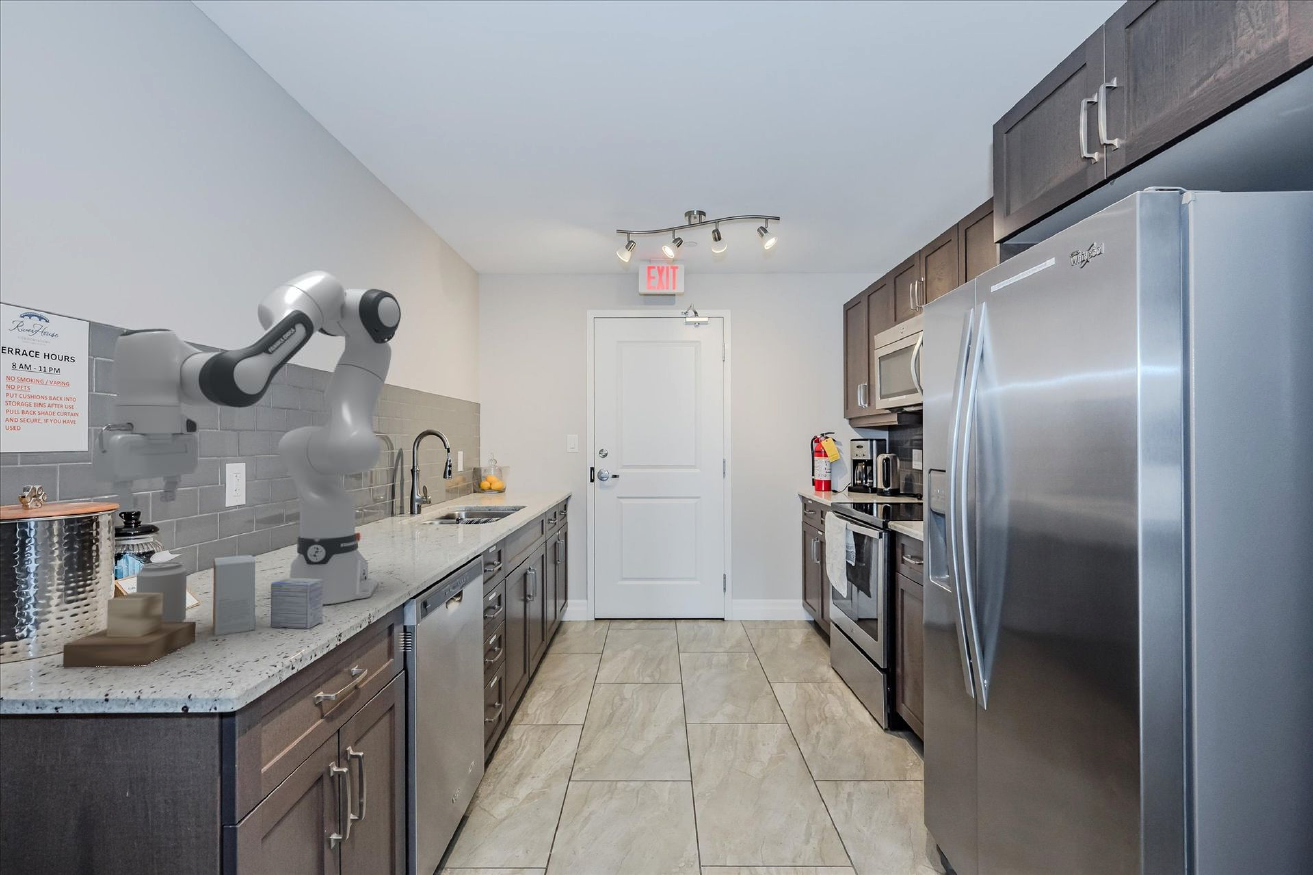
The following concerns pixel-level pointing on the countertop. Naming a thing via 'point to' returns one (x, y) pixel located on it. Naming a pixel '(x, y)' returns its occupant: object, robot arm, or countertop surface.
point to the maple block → (134, 614)
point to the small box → (234, 594)
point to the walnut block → (128, 647)
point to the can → (166, 587)
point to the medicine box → (296, 602)
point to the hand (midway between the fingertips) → (149, 504)
